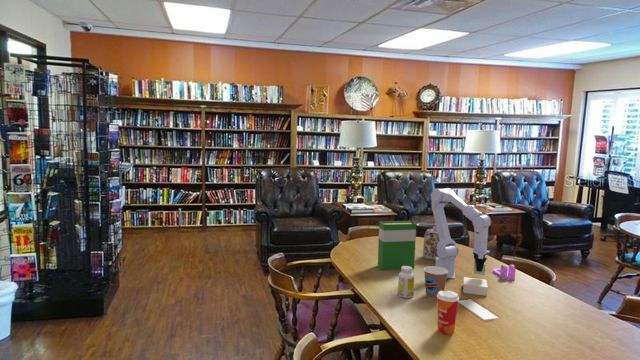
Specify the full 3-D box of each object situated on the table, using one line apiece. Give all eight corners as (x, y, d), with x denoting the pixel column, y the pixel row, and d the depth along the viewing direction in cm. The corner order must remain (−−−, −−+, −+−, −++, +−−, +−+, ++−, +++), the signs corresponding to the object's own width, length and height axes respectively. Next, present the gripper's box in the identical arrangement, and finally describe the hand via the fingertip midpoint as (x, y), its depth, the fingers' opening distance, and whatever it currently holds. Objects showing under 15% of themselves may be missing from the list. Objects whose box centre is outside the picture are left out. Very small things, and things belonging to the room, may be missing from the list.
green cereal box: (408, 264, 227) (410, 220, 225) (414, 268, 220) (416, 223, 217) (377, 265, 224) (379, 221, 221) (382, 270, 217) (384, 224, 214)
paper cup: (431, 326, 155) (433, 289, 153) (452, 325, 155) (454, 289, 154) (439, 336, 147) (441, 298, 145) (460, 336, 147) (463, 298, 146)
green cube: (474, 273, 193) (474, 263, 192) (473, 270, 197) (474, 260, 196) (484, 275, 191) (485, 264, 191) (483, 272, 196) (484, 261, 195)
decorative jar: (443, 262, 232) (444, 230, 230) (422, 258, 238) (424, 227, 236) (448, 256, 242) (450, 226, 240) (428, 253, 249) (430, 223, 246)
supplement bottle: (414, 294, 185) (415, 266, 184) (412, 299, 179) (413, 270, 177) (399, 291, 187) (400, 264, 186) (396, 297, 181) (398, 268, 180)
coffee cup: (417, 295, 184) (418, 269, 182) (431, 290, 190) (432, 264, 189) (437, 303, 176) (439, 275, 174) (451, 297, 182) (453, 270, 181)
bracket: (514, 279, 207) (515, 266, 206) (504, 279, 206) (505, 266, 205) (500, 270, 219) (501, 258, 219) (490, 271, 219) (491, 258, 218)
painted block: (463, 292, 188) (463, 284, 187) (463, 285, 197) (463, 277, 197) (487, 296, 184) (487, 287, 184) (486, 288, 194) (486, 279, 193)
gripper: (491, 245, 184) (489, 275, 186) (488, 238, 198) (487, 265, 200) (474, 244, 187) (472, 273, 188) (473, 236, 200) (471, 264, 202)
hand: (478, 269), depth 194 cm, fingers closed on green cube, 4 cm apart
